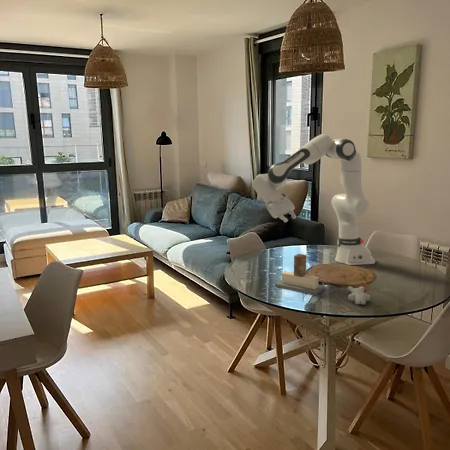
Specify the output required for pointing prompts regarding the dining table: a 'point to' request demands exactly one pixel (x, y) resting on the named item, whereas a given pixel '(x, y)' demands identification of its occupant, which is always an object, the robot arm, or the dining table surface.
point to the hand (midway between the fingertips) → (291, 219)
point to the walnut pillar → (300, 265)
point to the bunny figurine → (358, 295)
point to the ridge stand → (300, 283)
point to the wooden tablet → (366, 288)
